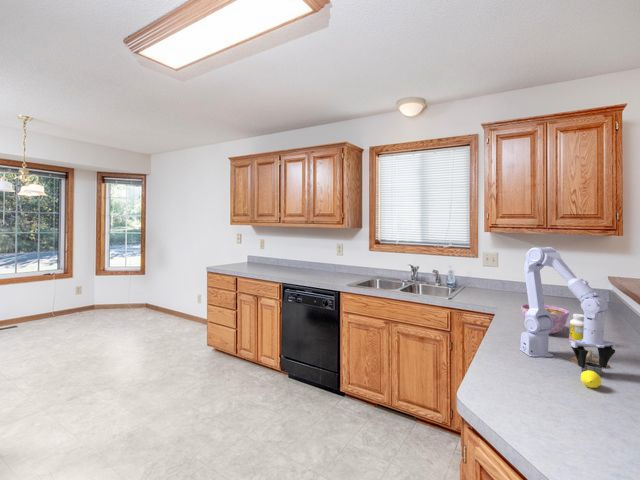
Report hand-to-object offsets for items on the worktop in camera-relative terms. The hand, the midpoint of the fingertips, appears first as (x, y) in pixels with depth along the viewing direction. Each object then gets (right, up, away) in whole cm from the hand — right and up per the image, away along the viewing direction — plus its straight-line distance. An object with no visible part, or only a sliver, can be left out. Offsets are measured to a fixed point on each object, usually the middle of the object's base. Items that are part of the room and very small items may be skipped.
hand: (592, 366), depth 122 cm
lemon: (-9, -3, -10) cm, 14 cm away
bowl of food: (+13, 0, +46) cm, 48 cm away
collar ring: (0, -2, 0) cm, 2 cm away
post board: (+5, -2, +8) cm, 10 cm away
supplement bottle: (+18, -1, +30) cm, 35 cm away
